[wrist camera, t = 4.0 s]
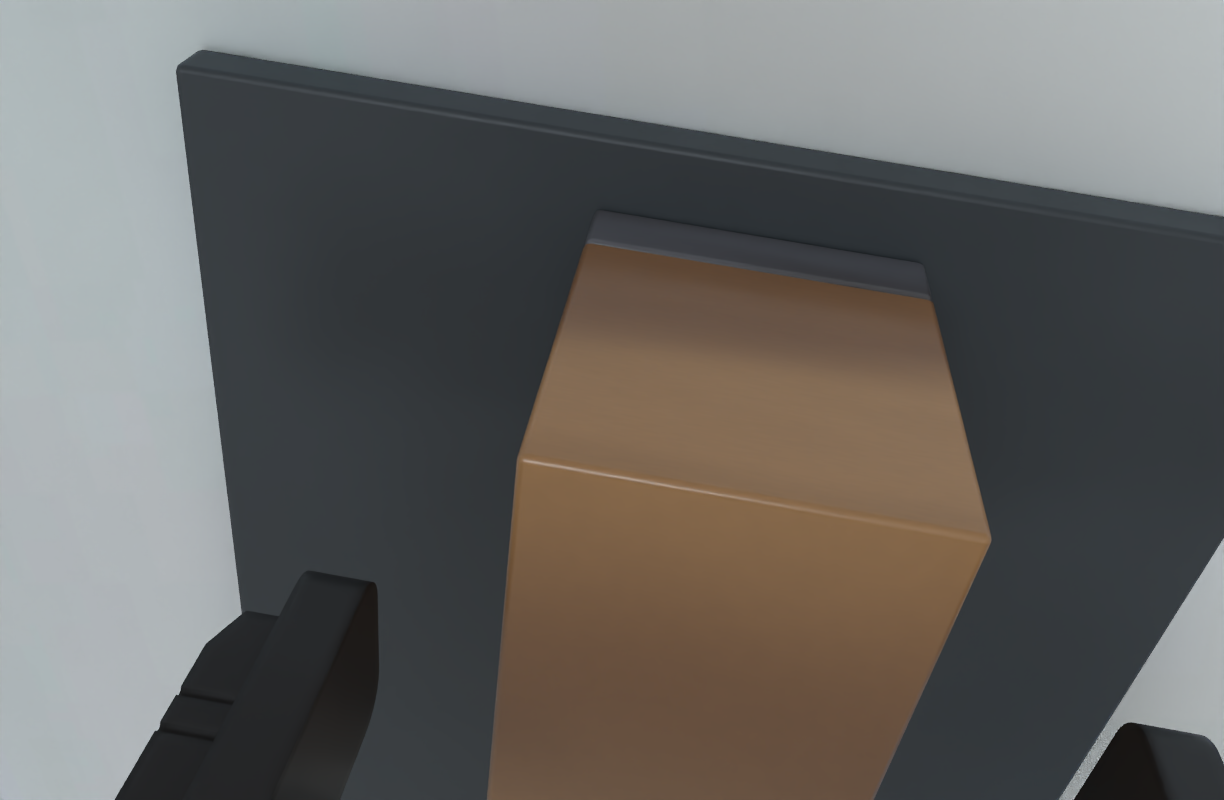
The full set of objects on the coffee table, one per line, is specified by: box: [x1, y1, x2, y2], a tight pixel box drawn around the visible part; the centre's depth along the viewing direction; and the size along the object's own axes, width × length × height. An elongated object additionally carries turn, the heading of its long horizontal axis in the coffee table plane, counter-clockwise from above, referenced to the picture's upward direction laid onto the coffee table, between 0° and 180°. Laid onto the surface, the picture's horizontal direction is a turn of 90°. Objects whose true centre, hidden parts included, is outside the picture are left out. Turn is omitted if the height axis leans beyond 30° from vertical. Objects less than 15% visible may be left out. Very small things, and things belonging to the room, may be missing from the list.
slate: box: [176, 50, 1224, 800], centre depth 21 cm, size 24×16×1 cm, turn 173°
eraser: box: [487, 210, 992, 800], centre depth 14 cm, size 6×4×6 cm
